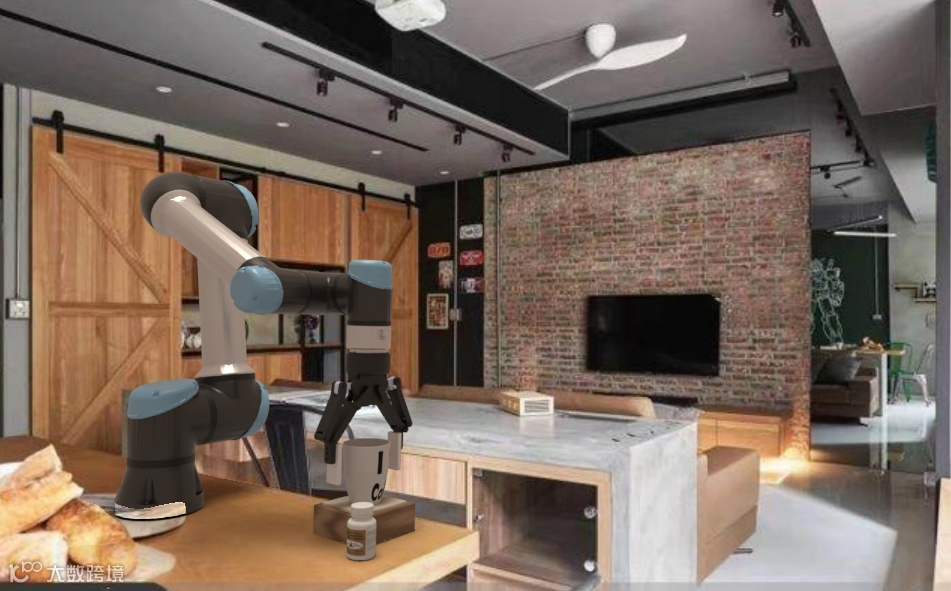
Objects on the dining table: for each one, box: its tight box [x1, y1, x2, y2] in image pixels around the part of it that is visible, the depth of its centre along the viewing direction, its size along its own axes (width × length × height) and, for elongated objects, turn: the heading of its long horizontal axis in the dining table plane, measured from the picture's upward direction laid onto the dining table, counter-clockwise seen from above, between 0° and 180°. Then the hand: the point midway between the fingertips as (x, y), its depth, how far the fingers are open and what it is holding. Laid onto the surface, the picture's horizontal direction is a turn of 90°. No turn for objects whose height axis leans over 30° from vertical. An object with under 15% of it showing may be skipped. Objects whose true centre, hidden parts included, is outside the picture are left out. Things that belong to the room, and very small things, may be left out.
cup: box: [341, 437, 391, 505], centre depth 112 cm, size 8×8×10 cm
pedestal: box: [312, 494, 416, 544], centre depth 112 cm, size 12×12×5 cm
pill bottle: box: [346, 502, 377, 561], centre depth 100 cm, size 4×4×8 cm
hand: (365, 476), depth 112 cm, fingers open, 13 cm apart
